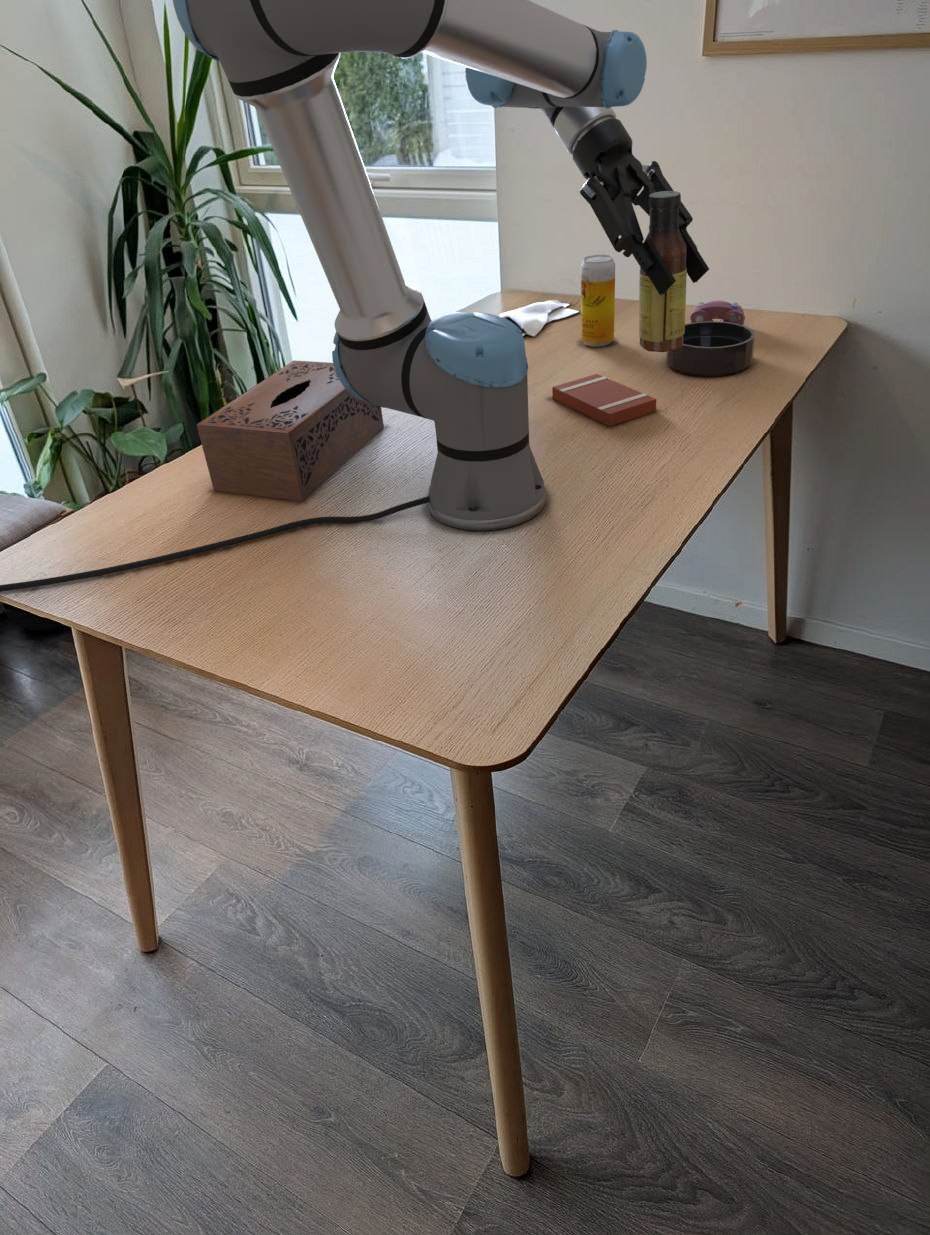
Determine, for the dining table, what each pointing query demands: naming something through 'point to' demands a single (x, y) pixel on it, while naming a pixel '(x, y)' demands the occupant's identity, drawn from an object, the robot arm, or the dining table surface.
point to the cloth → (537, 315)
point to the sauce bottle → (667, 311)
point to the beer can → (597, 300)
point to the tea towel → (604, 399)
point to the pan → (713, 349)
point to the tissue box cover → (287, 433)
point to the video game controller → (718, 312)
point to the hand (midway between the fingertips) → (684, 281)
